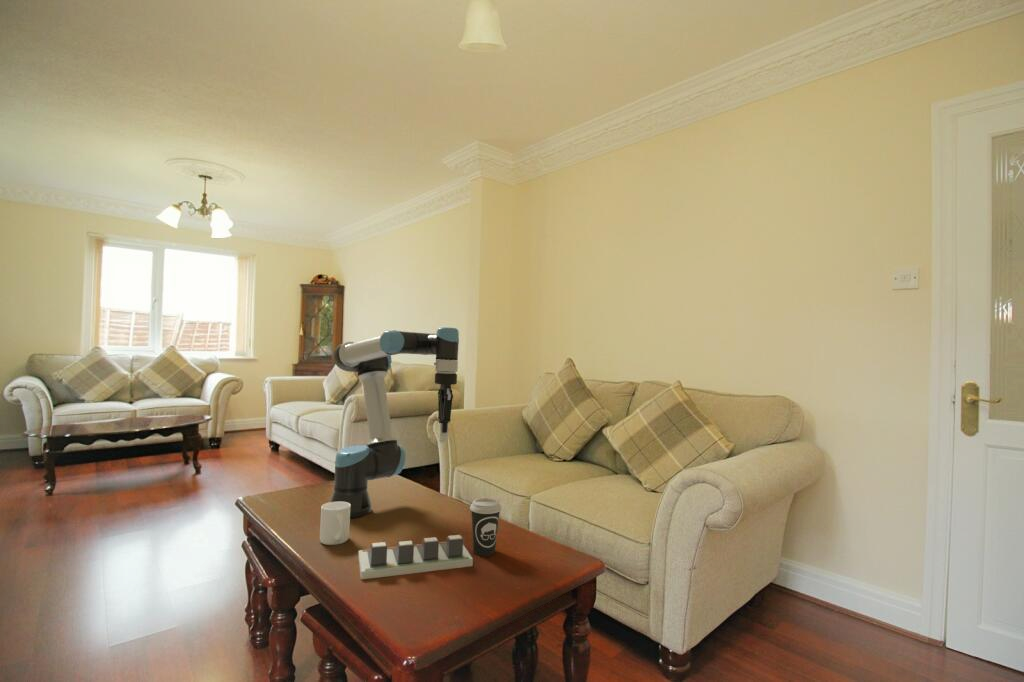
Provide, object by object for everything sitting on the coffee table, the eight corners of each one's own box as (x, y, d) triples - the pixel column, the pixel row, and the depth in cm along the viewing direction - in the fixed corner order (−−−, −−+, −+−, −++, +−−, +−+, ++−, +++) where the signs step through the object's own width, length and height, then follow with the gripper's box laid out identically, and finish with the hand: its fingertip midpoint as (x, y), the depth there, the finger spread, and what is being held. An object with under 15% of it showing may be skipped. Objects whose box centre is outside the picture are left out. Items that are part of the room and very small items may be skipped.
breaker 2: (396, 559, 131) (397, 541, 131) (411, 557, 132) (412, 540, 132) (398, 563, 128) (399, 545, 128) (413, 561, 129) (413, 544, 130)
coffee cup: (504, 548, 147) (506, 499, 148) (492, 560, 138) (495, 508, 139) (475, 543, 150) (477, 495, 151) (462, 555, 141) (465, 503, 142)
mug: (325, 551, 140) (327, 514, 140) (316, 538, 150) (318, 503, 150) (355, 546, 144) (356, 510, 145) (344, 533, 154) (346, 500, 155)
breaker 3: (421, 555, 134) (422, 538, 134) (435, 553, 135) (436, 536, 136) (423, 559, 131) (424, 542, 131) (438, 557, 133) (438, 540, 133)
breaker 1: (370, 560, 129) (370, 542, 129) (385, 559, 131) (386, 541, 131) (370, 565, 126) (371, 547, 126) (386, 563, 128) (387, 545, 128)
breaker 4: (446, 552, 137) (447, 535, 137) (459, 551, 138) (460, 534, 138) (448, 556, 134) (449, 539, 134) (462, 555, 135) (463, 538, 135)
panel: (358, 557, 137) (358, 549, 137) (460, 546, 147) (460, 539, 147) (361, 579, 123) (361, 570, 124) (472, 566, 134) (472, 558, 134)
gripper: (431, 371, 168) (428, 438, 167) (439, 373, 156) (436, 445, 155) (452, 372, 171) (449, 438, 170) (461, 373, 159) (458, 445, 158)
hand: (443, 441), depth 163 cm, fingers closed
